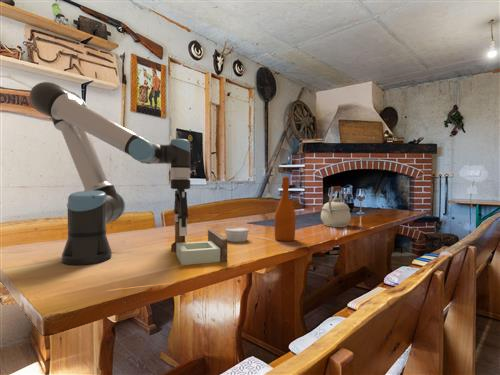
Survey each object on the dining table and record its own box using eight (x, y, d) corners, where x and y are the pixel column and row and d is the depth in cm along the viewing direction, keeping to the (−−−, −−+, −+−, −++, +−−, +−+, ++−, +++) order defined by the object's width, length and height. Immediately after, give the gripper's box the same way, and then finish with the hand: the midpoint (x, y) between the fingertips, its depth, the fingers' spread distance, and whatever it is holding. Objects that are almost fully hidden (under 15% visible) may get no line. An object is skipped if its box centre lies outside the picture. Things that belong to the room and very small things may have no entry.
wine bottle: (298, 239, 142) (299, 177, 142) (289, 242, 134) (291, 176, 133) (280, 236, 148) (281, 176, 147) (270, 240, 139) (271, 176, 139)
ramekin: (236, 236, 146) (236, 226, 146) (253, 240, 139) (253, 229, 139) (220, 240, 138) (220, 229, 138) (237, 244, 131) (238, 232, 130)
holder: (181, 265, 96) (181, 251, 96) (176, 255, 108) (176, 243, 108) (220, 261, 101) (220, 248, 101) (211, 252, 113) (211, 240, 113)
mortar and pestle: (173, 253, 113) (173, 206, 112) (169, 249, 118) (170, 204, 118) (190, 251, 116) (190, 205, 115) (186, 247, 121) (186, 204, 121)
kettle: (327, 222, 202) (328, 185, 201) (354, 224, 191) (356, 186, 191) (312, 226, 182) (313, 186, 181) (342, 230, 171) (343, 187, 170)
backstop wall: (221, 262, 101) (221, 239, 100) (207, 249, 119) (208, 229, 119) (227, 262, 101) (227, 239, 101) (212, 249, 120) (212, 229, 120)
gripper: (196, 179, 106) (196, 237, 107) (185, 178, 129) (185, 227, 130) (174, 179, 103) (174, 239, 104) (167, 178, 126) (167, 228, 127)
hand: (180, 232), depth 117 cm, fingers open, 13 cm apart
